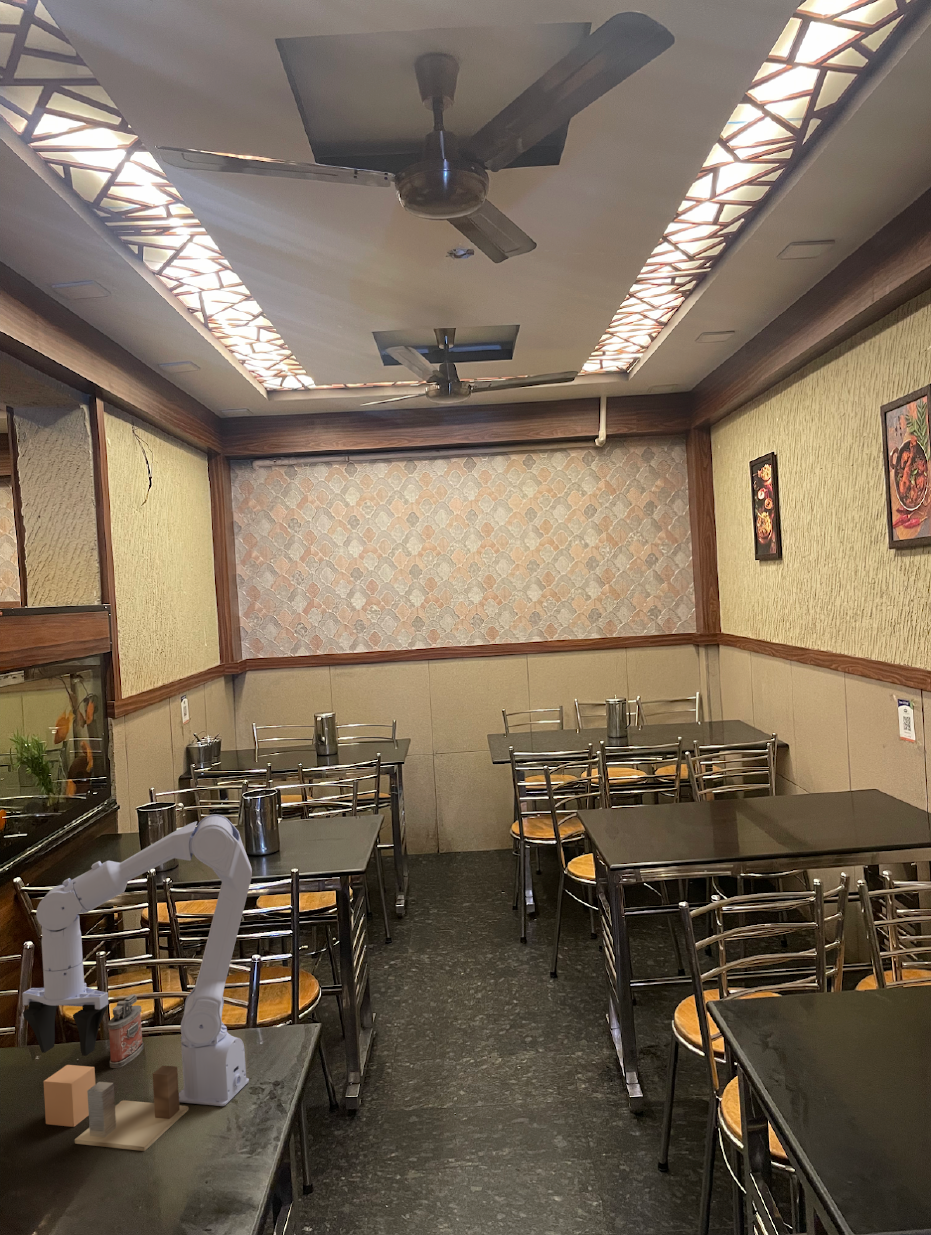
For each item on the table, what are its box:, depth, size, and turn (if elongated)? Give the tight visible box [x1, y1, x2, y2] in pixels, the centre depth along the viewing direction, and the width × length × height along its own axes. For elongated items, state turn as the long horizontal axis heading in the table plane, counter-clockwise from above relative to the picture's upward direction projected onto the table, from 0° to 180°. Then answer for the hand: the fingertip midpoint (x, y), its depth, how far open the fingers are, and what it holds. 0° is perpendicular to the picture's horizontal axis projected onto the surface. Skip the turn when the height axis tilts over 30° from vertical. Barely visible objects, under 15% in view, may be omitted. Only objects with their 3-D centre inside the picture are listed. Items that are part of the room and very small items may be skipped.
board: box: [74, 1099, 189, 1152], centre depth 134 cm, size 12×11×1 cm
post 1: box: [87, 1081, 116, 1137], centre depth 132 cm, size 3×3×7 cm
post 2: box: [152, 1065, 180, 1119], centre depth 136 cm, size 3×3×7 cm
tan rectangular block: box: [43, 1064, 96, 1128], centre depth 138 cm, size 5×5×7 cm
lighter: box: [107, 994, 145, 1069], centre depth 157 cm, size 8×3×10 cm, turn 168°
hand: (67, 1051), depth 138 cm, fingers open, 7 cm apart
